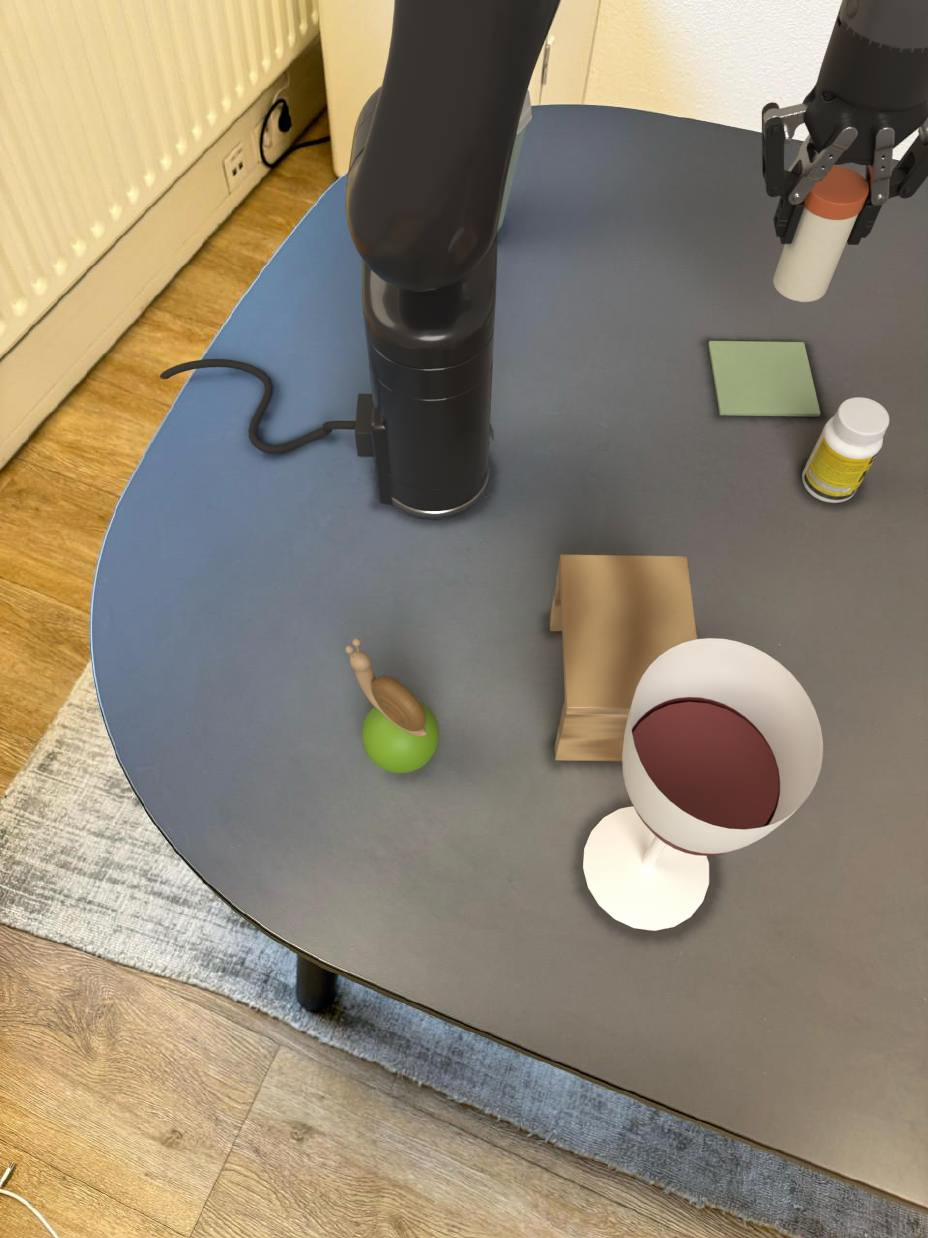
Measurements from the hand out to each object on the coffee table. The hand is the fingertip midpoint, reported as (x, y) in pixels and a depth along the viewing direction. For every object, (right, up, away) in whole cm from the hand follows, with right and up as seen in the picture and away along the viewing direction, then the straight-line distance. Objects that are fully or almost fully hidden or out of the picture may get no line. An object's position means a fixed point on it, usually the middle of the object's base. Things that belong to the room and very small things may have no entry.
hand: (817, 236), depth 76 cm
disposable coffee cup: (-27, +11, +24) cm, 38 cm away
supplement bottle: (+4, -18, +8) cm, 20 cm away
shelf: (-17, -35, -3) cm, 39 cm away
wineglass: (-15, -47, -9) cm, 50 cm away
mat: (0, -8, +13) cm, 16 cm away
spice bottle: (0, -2, +4) cm, 5 cm away
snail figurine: (-33, -39, -5) cm, 51 cm away
